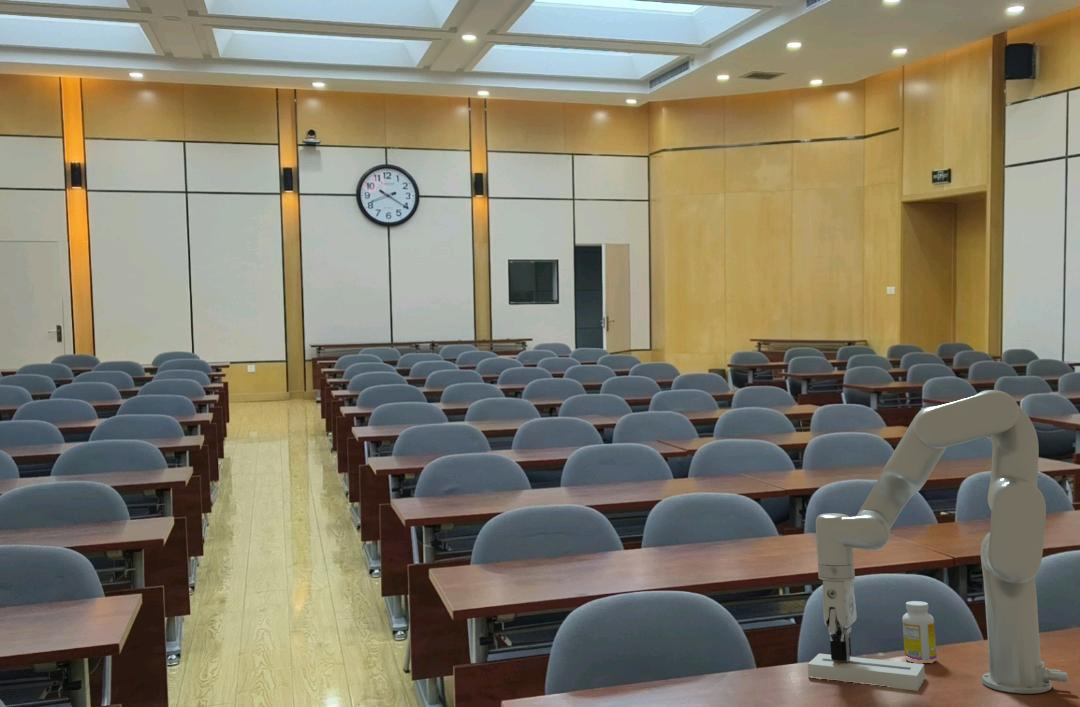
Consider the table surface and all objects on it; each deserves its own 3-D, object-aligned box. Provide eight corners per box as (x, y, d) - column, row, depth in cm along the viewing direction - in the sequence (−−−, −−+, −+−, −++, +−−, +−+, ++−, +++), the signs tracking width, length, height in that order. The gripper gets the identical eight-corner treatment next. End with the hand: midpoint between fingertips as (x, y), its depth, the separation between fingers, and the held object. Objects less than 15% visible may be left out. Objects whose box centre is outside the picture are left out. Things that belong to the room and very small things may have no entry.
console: (925, 678, 195) (924, 663, 196) (917, 690, 188) (916, 675, 188) (819, 667, 207) (818, 653, 207) (808, 678, 199) (807, 663, 199)
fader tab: (852, 659, 200) (850, 626, 201) (848, 663, 197) (847, 629, 198) (834, 657, 203) (832, 624, 203) (829, 661, 199) (828, 628, 200)
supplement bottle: (931, 656, 211) (928, 599, 212) (941, 664, 205) (937, 606, 205) (901, 657, 212) (897, 600, 213) (909, 665, 205) (906, 606, 206)
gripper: (845, 579, 192) (850, 669, 191) (862, 566, 206) (867, 650, 205) (808, 577, 196) (813, 665, 195) (828, 564, 210) (833, 646, 209)
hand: (841, 656), depth 200 cm, fingers closed on fader tab, 3 cm apart
